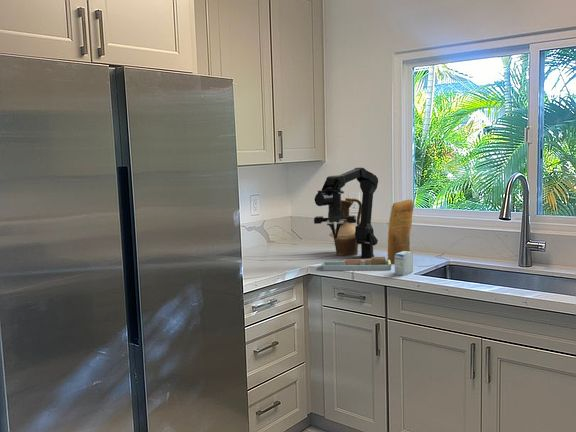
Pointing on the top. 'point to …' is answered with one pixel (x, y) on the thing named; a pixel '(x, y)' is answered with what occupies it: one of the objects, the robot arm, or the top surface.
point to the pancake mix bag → (399, 228)
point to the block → (378, 261)
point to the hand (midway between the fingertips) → (335, 238)
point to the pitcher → (347, 231)
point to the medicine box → (403, 263)
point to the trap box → (341, 265)
